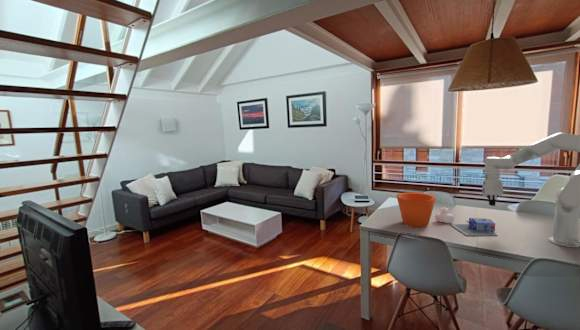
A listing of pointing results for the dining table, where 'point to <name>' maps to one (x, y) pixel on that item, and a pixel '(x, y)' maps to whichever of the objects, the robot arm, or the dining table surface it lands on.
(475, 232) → the mat
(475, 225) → the ink cartridge box
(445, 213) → the white lumpy piece
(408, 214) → the flowerpot
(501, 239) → the dining table surface
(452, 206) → the dining table surface
